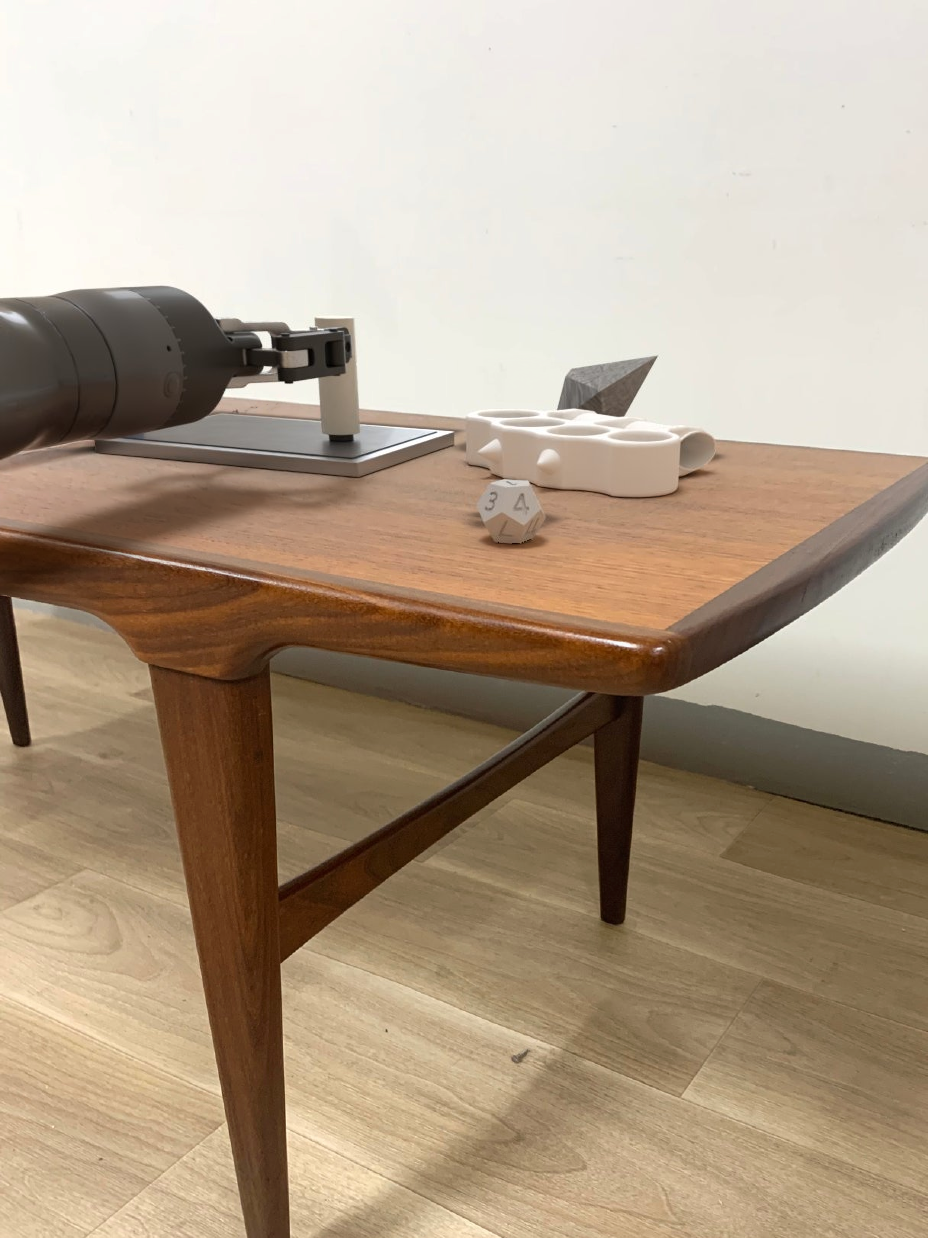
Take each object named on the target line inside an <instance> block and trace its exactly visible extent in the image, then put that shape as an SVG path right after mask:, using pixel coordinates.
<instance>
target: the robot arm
mask: <svg viewBox="0 0 928 1238" xmlns="http://www.w3.org/2000/svg"><path fill="white" fill-rule="evenodd" d="M255 332H256V333H257V332H258V333H259V332H262V333H263V332H267V333H268V334H269V336H270V343H271V347H263V343H262V341H261V338H260V337H259V335H258V334H256V333H255ZM352 357H353V356H352V336H351V334H349V331H348V329H347V328H346V327H331V328H322V329H318V327H315V326H309V327H308V328H290V327H289V325H288V324H287V323H286V322H284V321H278V320H251V321H250V320H249V321H248V320H247V321H242V320H240V319H239V318H236V317H229V316H219V317H217V316H216V317H214V315H212V313H211V311H209V309H208V308H207V307H206V306H205V305H204V304H203V303H202V302H201V301H200V300H199V299H198V298H196V297H195V296H193V295H192V294H191V293H189V292H187V291H185V290H183V289H181V288H177V287H174V286H169V285H147V286H146V285H145V286H144V285H143V286H119V287H118V286H117V287H116V286H115V287H103V288H102V287H99V288H96V287H95V288H79V289H71V290H70V289H69V290H66V291H62V292H57V293H54V294H50V295H37V296H35V295H34V296H17V297H0V462H1V461H3V460H5V459H8V458H10V457H13V456H15V455H17V454H20V453H22V452H31V451H37V450H43V449H46V448H47V449H48V448H51V447H56V446H62V445H66V444H71V443H77V442H83V441H94V440H109V439H117V438H122V437H127V436H132V435H136V434H141V433H146V432H151V431H156V430H161V429H165V428H170V427H175V426H180V425H185V424H189V423H193V422H196V421H199V420H201V419H203V418H204V417H206V416H209V415H211V413H212V412H213V411H214V410H215V409H216V408H217V406H218V405H219V403H220V402H221V401H222V398H223V397H224V394H225V392H226V390H229V389H233V390H234V389H243V388H246V387H247V385H250V384H265V383H266V384H267V383H284V385H285V384H286V385H293V384H294V383H295V382H302V381H307V380H315V379H318V378H321V377H327V376H340V374H345V373H346V363H348V362H349V361H350V358H352ZM265 367H269V368H270V369H269V370H267V371H264V368H265Z"/></svg>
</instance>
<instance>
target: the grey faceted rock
mask: <svg viewBox="0 0 928 1238" xmlns="http://www.w3.org/2000/svg"><path fill="white" fill-rule="evenodd" d="M658 357H659V355H652V356H645V357H644V356H643V357H639V358H633V359H625V360H619V361H612V362H605V363H600V364H592V365H586V366H580V367H573V368H570V370H569V371H568V372H567V374H566V375H565V376H564V381H563V383H562V388H561V392H560V396H559V400H558V403H557V407H556V411H557V410H566V409H581V410H588V411H594V412H595V413H597V414H601V415H607V416H614V417H624V416H626V415H627V413H628V411H629V409H630V408H631V405H633V404H632V403H634V400H635V399H636V397H637V395H638V393H639V391H640V389H641V387H642V386H643V384H644V382H645V380H646V379H647V377H648V375H649V373H650V371H651V369H652V368H653V366H654V364H655V362H656V360H657V359H658Z"/></svg>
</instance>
